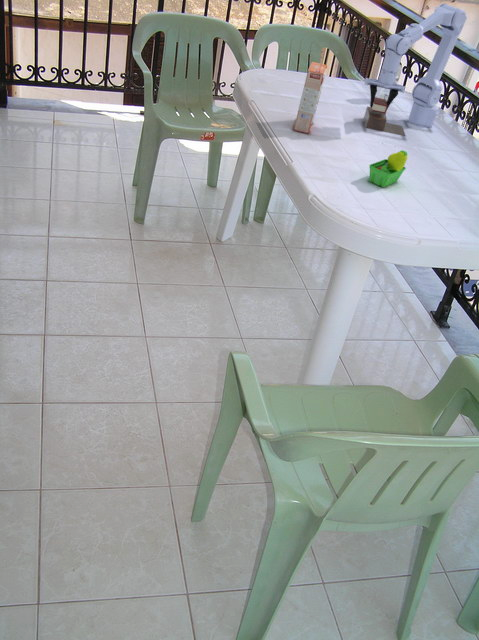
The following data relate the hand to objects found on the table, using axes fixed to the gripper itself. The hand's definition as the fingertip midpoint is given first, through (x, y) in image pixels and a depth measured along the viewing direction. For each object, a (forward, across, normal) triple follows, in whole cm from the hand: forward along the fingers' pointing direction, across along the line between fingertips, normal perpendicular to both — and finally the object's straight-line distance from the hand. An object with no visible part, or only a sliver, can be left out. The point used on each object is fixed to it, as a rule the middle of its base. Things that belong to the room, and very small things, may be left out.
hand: (378, 107), depth 251 cm
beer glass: (+8, +9, +44) cm, 46 cm away
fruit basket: (+8, 0, -53) cm, 54 cm away
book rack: (+8, +4, 0) cm, 9 cm away
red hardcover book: (0, 0, 0) cm, 0 cm away
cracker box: (+8, -26, -15) cm, 31 cm away
